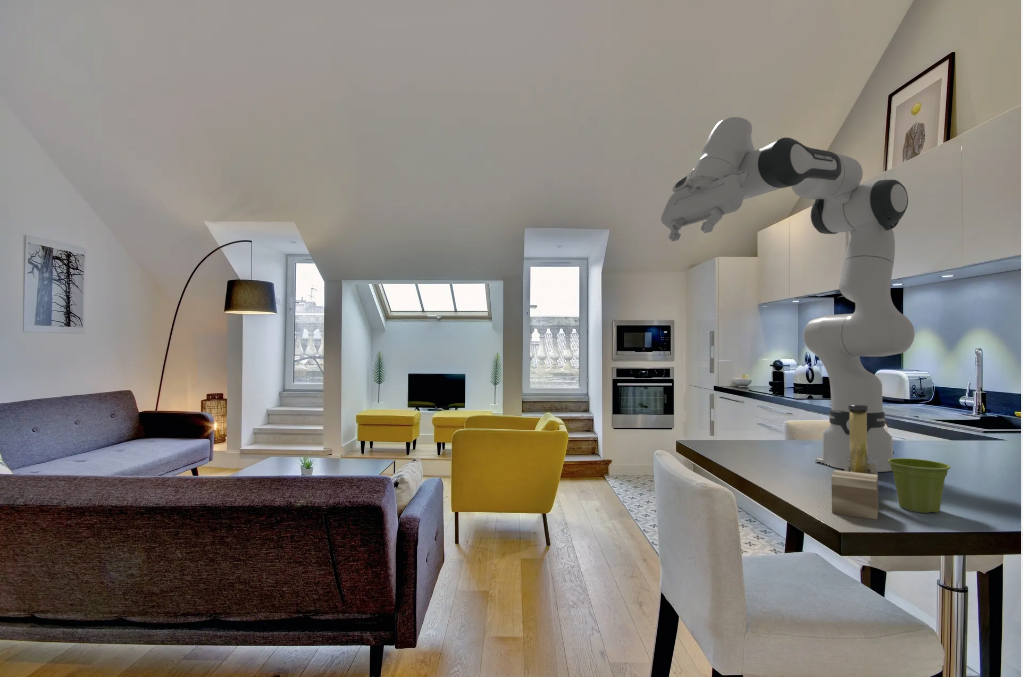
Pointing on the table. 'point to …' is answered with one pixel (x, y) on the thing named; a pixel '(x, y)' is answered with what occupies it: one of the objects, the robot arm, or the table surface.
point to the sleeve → (871, 464)
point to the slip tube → (858, 439)
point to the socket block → (855, 494)
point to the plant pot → (919, 483)
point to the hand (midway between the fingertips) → (688, 235)
